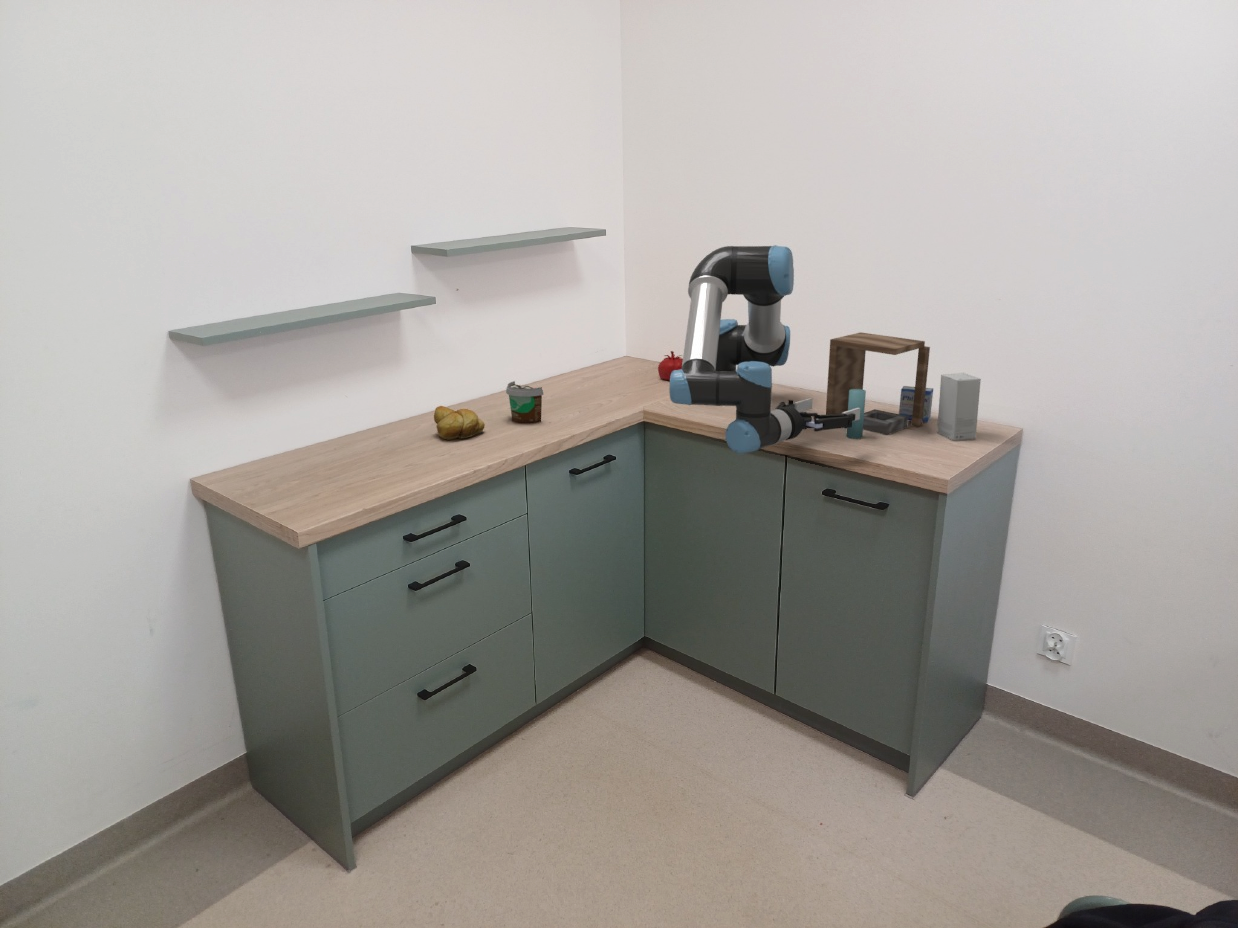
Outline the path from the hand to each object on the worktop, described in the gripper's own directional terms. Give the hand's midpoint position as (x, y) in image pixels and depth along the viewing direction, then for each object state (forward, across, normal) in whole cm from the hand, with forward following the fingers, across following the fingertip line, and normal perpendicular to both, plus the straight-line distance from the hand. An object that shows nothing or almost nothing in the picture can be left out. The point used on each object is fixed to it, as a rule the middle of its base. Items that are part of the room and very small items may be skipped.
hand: (834, 408), depth 212 cm
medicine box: (+36, +2, -10) cm, 37 cm away
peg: (+10, 0, -9) cm, 14 cm away
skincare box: (+28, +17, -10) cm, 35 cm away
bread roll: (-60, -73, -10) cm, 95 cm away
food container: (-41, -73, -10) cm, 85 cm away
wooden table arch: (+24, -3, -9) cm, 26 cm away
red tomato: (+25, -79, -9) cm, 83 cm away
